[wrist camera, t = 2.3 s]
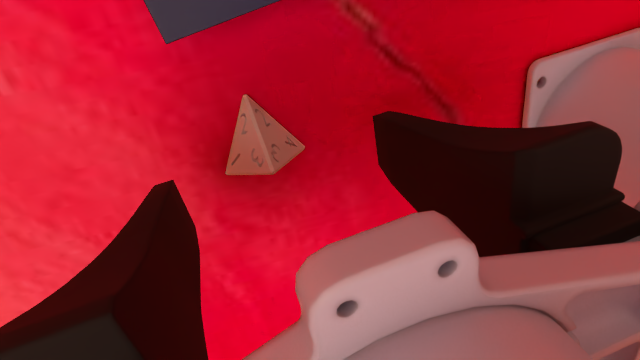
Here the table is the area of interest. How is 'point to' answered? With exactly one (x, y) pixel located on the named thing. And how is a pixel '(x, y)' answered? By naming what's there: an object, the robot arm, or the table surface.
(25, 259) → the table surface
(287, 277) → the table surface
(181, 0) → the book
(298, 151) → the tetrahedral die
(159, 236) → the robot arm
